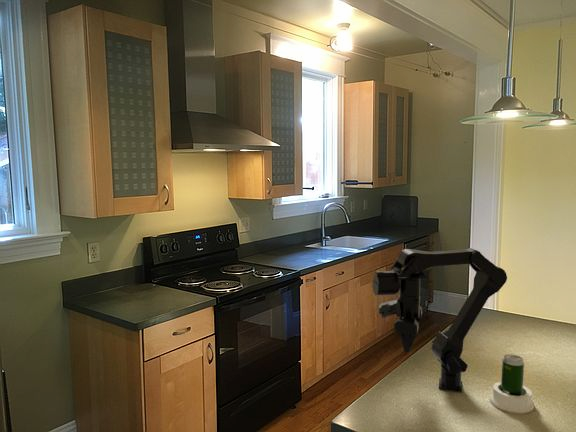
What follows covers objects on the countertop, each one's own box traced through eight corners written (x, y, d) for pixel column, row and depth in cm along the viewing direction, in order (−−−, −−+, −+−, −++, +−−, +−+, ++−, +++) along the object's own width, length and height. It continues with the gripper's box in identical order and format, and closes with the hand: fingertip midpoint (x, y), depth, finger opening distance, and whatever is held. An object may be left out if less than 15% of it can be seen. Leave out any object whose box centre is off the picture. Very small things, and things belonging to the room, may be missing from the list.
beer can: (516, 406, 127) (518, 363, 126) (496, 399, 131) (498, 357, 130) (525, 400, 131) (527, 358, 129) (506, 393, 135) (508, 352, 133)
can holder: (488, 391, 138) (489, 378, 138) (531, 397, 134) (531, 383, 134) (490, 409, 128) (491, 395, 127) (536, 417, 124) (537, 402, 124)
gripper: (385, 283, 148) (384, 332, 149) (375, 300, 130) (374, 354, 132) (422, 286, 144) (421, 336, 146) (418, 304, 127) (416, 360, 128)
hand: (408, 346), depth 138 cm, fingers open, 9 cm apart
